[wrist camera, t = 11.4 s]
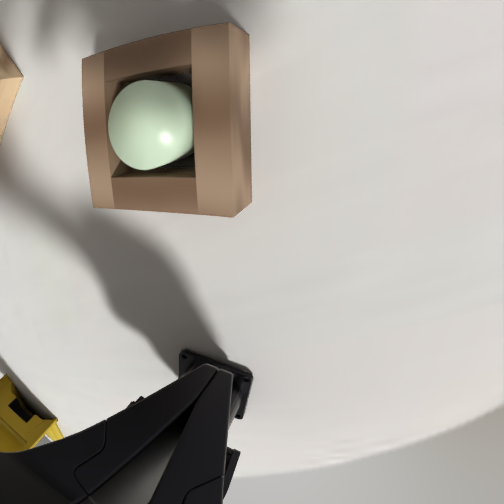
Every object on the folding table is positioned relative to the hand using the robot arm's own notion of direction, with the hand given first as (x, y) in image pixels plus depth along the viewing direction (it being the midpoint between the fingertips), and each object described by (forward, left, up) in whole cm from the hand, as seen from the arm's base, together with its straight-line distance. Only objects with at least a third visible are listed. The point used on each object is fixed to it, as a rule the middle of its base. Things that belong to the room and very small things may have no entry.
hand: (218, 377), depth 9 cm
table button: (+5, +9, -12) cm, 16 cm away
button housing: (+5, +9, -12) cm, 16 cm away
